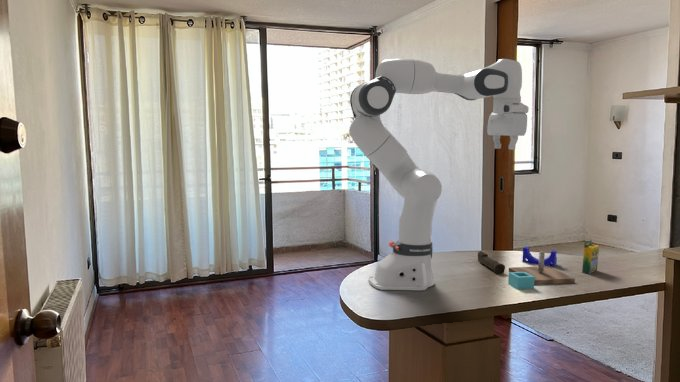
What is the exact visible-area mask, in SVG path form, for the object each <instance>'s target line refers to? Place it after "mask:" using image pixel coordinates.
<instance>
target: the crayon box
mask: <svg viewBox="0 0 680 382" xmlns="http://www.w3.org/2000/svg"><path fill="white" fill-rule="evenodd" d="M599 252H600V245H597V244H596V245H595V244H593V240H592V239H591V240H587V241H584V246H583V255H582V256H583V257H582V267H581V268H582V269H581V273H583V274H589V275H590V274H592V273H595V272H596V271H597V270H598V264H599V263H598V262H599Z"/></svg>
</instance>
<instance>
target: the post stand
mask: <svg viewBox="0 0 680 382" xmlns="http://www.w3.org/2000/svg"><path fill="white" fill-rule="evenodd" d="M538 254H539V255H538V259H539V264H537V265H538V266H520V267H508V273H509V272H526V273H528V274H530V275H532V276H534V277H535V280H534V285H553V284H575V282H576V279H575V277H572V276H570V275H568V274H566V273H564V272H562V271H559V270H557V269H555V268H554V267H553V268H552V266H545V265H544V259H545V252H544V251H543V250H541V251H539V253H538Z"/></svg>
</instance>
